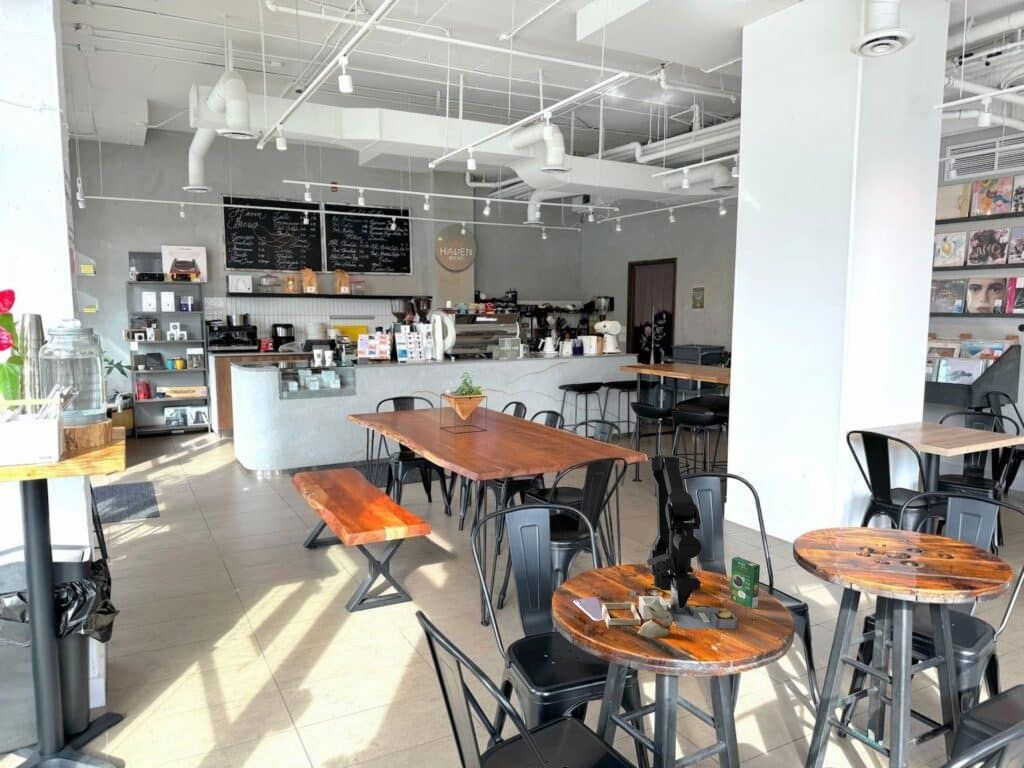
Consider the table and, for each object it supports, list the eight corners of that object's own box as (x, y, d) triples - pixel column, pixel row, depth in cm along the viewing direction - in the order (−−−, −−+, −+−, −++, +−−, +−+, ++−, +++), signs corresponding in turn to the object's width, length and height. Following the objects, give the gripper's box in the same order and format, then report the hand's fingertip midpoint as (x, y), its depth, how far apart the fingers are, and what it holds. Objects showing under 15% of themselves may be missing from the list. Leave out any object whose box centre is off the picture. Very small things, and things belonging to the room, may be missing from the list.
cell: (668, 606, 193) (669, 579, 192) (685, 606, 193) (685, 579, 192) (672, 612, 188) (673, 584, 188) (689, 612, 188) (690, 584, 188)
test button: (715, 617, 184) (716, 607, 184) (728, 617, 184) (728, 607, 184) (719, 622, 181) (719, 612, 181) (732, 622, 181) (732, 612, 181)
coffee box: (759, 611, 194) (761, 564, 193) (752, 613, 193) (753, 565, 192) (737, 601, 201) (738, 555, 200) (729, 603, 200) (730, 557, 199)
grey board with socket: (664, 611, 194) (664, 600, 193) (721, 611, 194) (721, 600, 194) (677, 633, 180) (677, 620, 179) (738, 633, 180) (738, 620, 180)
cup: (638, 614, 191) (639, 596, 191) (661, 614, 192) (661, 596, 191) (643, 623, 185) (643, 604, 185) (666, 623, 186) (666, 604, 185)
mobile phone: (594, 619, 187) (571, 598, 201) (594, 622, 187) (571, 602, 201) (621, 615, 189) (596, 595, 203) (621, 619, 189) (596, 599, 203)
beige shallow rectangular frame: (602, 612, 193) (602, 602, 193) (632, 612, 193) (632, 602, 193) (608, 629, 182) (608, 619, 182) (640, 629, 182) (640, 619, 182)
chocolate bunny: (664, 646, 172) (665, 606, 171) (634, 638, 177) (635, 598, 176) (674, 639, 176) (674, 599, 176) (645, 631, 181) (645, 592, 180)
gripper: (642, 536, 198) (642, 591, 199) (657, 557, 180) (656, 618, 181) (683, 536, 199) (681, 591, 200) (701, 557, 180) (700, 618, 181)
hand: (679, 604), depth 190 cm, fingers closed on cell, 4 cm apart
